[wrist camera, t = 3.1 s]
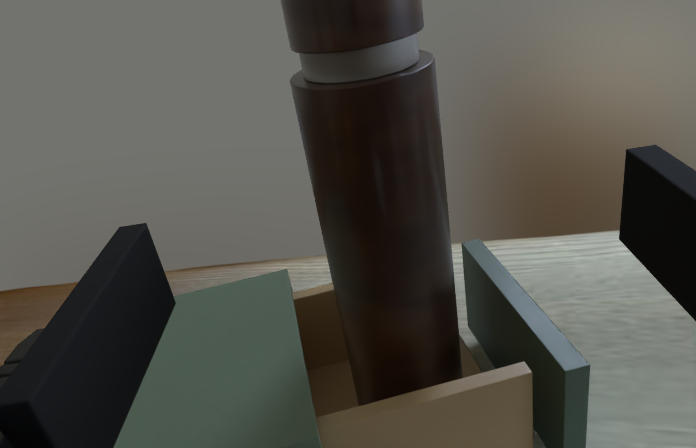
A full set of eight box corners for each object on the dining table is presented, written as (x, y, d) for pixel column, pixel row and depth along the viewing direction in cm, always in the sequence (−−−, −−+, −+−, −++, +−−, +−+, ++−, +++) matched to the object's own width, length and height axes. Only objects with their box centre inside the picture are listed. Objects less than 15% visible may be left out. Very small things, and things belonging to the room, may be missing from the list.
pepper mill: (443, 353, 35) (395, -90, 23) (482, 426, 29) (445, -103, 18) (350, 378, 34) (255, -64, 23) (372, 457, 29) (263, -69, 17)
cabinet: (312, 370, 38) (286, 268, 34) (351, 560, 26) (318, 436, 22) (100, 427, 36) (47, 327, 33) (39, 654, 25) (-55, 539, 21)
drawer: (500, 317, 38) (497, 234, 35) (607, 460, 27) (615, 358, 24) (294, 371, 37) (271, 289, 34) (321, 544, 26) (292, 447, 23)
